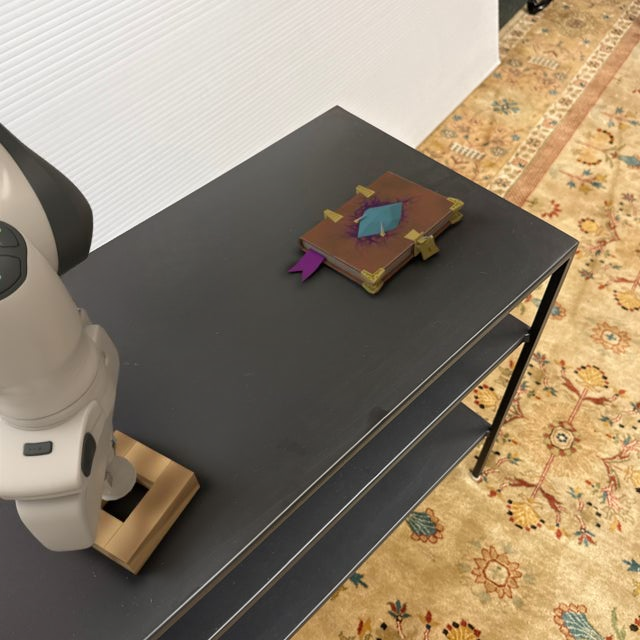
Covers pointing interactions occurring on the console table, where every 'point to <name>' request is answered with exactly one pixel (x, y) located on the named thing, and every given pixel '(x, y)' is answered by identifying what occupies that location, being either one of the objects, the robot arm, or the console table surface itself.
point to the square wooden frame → (145, 505)
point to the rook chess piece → (119, 475)
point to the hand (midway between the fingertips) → (106, 469)
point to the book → (378, 231)
